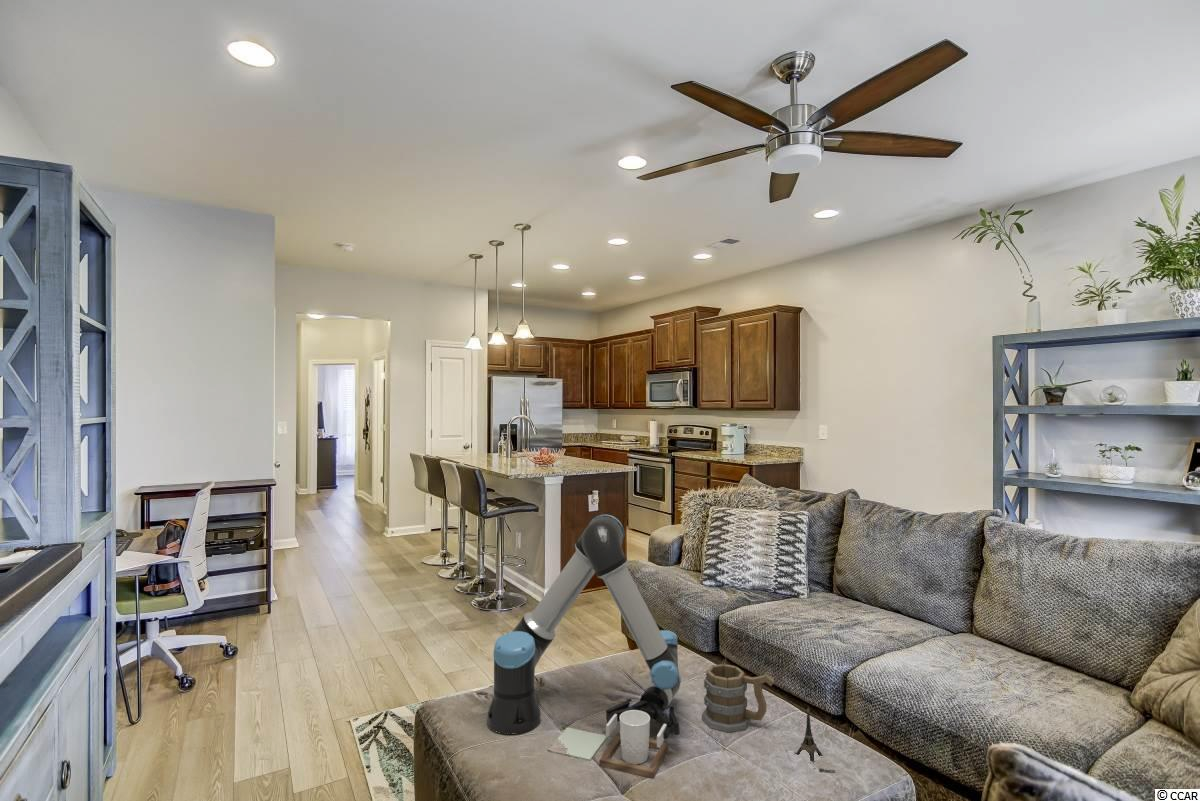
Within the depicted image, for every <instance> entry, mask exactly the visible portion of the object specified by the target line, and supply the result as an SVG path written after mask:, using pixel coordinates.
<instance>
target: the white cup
mask: <svg viewBox="0 0 1200 801" xmlns="http://www.w3.org/2000/svg"><path fill="white" fill-rule="evenodd" d="M619 718H620V722H619V732H620V739H621V744H620V747H621V748H620V749H621V759H622V760H623V762H627V763H632V764H636V765H642V764H643V763H645V762H647V761H648V759H649V749H650V748H649V739H650V735H651V734H650V732H651V731H650V730H651V729H650V728H651V719H650V716H649V715H648V714H647V713H645V712H643V711H639V710H629V711H625V712H623V713H622V714H621V715H620V717H619Z"/></svg>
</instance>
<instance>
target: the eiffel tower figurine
mask: <svg viewBox="0 0 1200 801" xmlns="http://www.w3.org/2000/svg"><path fill="white" fill-rule="evenodd" d="M810 711H811V709H810V708H809V707H807V709H806V725H805V726H806V729H805V734H804V738H803V741H802V742H801V743H800V747H798V748H799V749H797V751H796V752H795V753H796V754H797V755H799V754H800V752H801V751H802V750H806V751H807V752H808V753H809V755H810V761H811V762H813V763H814V762H815V761H814V752H817V753H818V755H819V756H823V757H824V754H823V753H822V751H820V749H819V747H818V746H817V743H815V740H814V737H813V734H812V725H811V716H810ZM811 762H810V763H811ZM813 763H812V764H813ZM815 763H816V762H815ZM815 763H814V764H815ZM816 769H817V768H816V767H814V769H813V770H816ZM818 771H819V773H836V770H833V769H824V768H821V767H820V768H818Z"/></svg>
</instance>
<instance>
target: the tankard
mask: <svg viewBox="0 0 1200 801" xmlns="http://www.w3.org/2000/svg"><path fill="white" fill-rule="evenodd" d="M705 672H706V673H705V676H706V677H705V678H704V679H703V687H704V688H705V689H706V692H705V695H704V697H703V704H704V706H706V707H705V709H704V710H703V711H702V713H701V719H702V721H703V722H704V723H705V724H706V725H707V726H708V727H709V728H711V729H712V730H715V731H720V732H725V733H734V732H739V731H745V730H746V728H747V727H748V726H749V724H750V721H762V719H763V718H764V717H765V715H766V713H767V701H766V699H765V696H764V692H763V685H762V684H764V683H765V684H767V685H768V686H770V687H772V685H773V684H774V683H775V679H774V678H772V677H771V676H770V675H768V674H763V675H759V676H754V677H753V676H752V677H751V676H748V675H745V672H744V670H742V669H740V668H739V667H738V666H735V665H731V664H727V663H726V664H725V663H724V664H723V663H721V664H720V663H719V664H712V665H710V666H709V667H708V668H707V669H706V671H705ZM748 684H750V685H753V692H754V697H755V699H756V702H757V706H758V710H757V711H752V710H749V709H747V707H748V698H747V697H746V691H747V690H748Z"/></svg>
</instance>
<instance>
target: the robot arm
mask: <svg viewBox="0 0 1200 801" xmlns="http://www.w3.org/2000/svg"><path fill="white" fill-rule="evenodd" d="M624 539H625V530H624V526H623V524H622V523H621V521H620V520H619V519H618V518H617V517H615V516H614V515H610V514H600V515H597V516H595V517H594V518H592V519H591V520H590V521H589V523H588V525H587V526H586V527H585V529H584V531H583V533H581V535H580V537H579V538H578V539H577V541H576V542H575V543H574V548H575V552H574V553H573V554H572V556H571V558H570V559H569V560H568V561H567V563H566V565H565V566H564V567H563V569H562V570H561V572H560V573H559V574H558V576H557V577H556V579H555V580H554V581H553V583H552V585H550V588H549V589H548V590H547V591H546V592H545V593H544V595H543V597H542V598H541V599H540V601H539V602H538V604H537V605H536V606H535V608H534V609H533V610H532V611H529V612H526V613H525V614H524V615H523V617H521V619H520V621H519V622H518V623H517V625H516V626H515V627H514V629H513V630H512V631H509V632H506V634H502V635H501V636H500V637H498V638H497V639H496V640H495V643H494V649H493V697H492V700H491V703H490V706H489V708H488V712H487V723H488V724H487V727H488V726H489V727H490V728H491V729H492V730H491V729H490V728H489V727H488V728H489V729H490V730H491V731H493V730H494V731H497V732H500V733H499V734H501V733H506V734H505V735H513V734H512V733H520V734H524V733H528V732H530V731H532V730H534V729H535V728H536V727H538V726H539V724H540V723H541V708H540V706H539V702H538V699H537V698H538V697H537V695H536V692H535V686H536V685H535V684H536V683H535V679H536V678H535V671H536V670H535V669H536V666H537V665H538V663H539V661H540V659H541V657H542V656H543V654H544V653H545V652H546V650H547V649H548V647H549V646H550V645H551V643H552V642H553V640H554V639H555V637H556V632H555V630H556V628H557V627H558V625H559V623H560V622H561V620H562V619H563V618H564V616H565V615H566V614H567V612H568V611H569V609H570V608H571V607H572V605H573V604H574V602H575V601H576V600H577V598H578V597H579V596H580V595H581V593H582V592H583V590H584V588H585V587H586V586H587V585H588V583H589V582H590V580H591V579H592V578H593V576H594V575H595V574H596V577H597V578H599V579H602V580H603V582H604V584H605V587H607V590H608V591H609V594H610V595H611V598H612V599H613V601H614V603H615V605H616V607H617V609H618V611H619V613H620V615H621V616H622V618H623V620H624V622H625V624H626V627H627V628H628V630H629V632H630V634H631V636H632V637H633V640H634V641H635V643H636V646H637V647H638V649H639V651H640V654H641V656H642V657H643V659H644V661H645V663H646V665H647V667H648V669H649V674H650V679H651V682H650V684H649V685H648V686H647V688H646V689H645V691H644V692H643V694H642V695H641V696H640V699H639V701H637V702H632V698H627V699H626V700H625V701H623V702H621V703H619V704H616V705H615V706H611V707H609V708H608V709H606V710H605V712H606V713H605V720H606V725H605V736H607V738H609V737H610V735H611V734H612V733H613V731H614V730H615V729H616V727H617V726H618V723H620V718H619V717H620V715H621V714H622V713H623V712H625V711H629V710H639V711H643V712H645V713H647V714H648V715H649V716H650V720H653V721H655V723H656V724H659V726H660V727H661V728H660V730H659V731H658V733H657V735H656V740H657V747H658V748H660V746H661V745H662V743H663V742H665V741H664V740H668V739H669V738H670V736H671V735H672V734H674V735H679V734H680V723H679V721H678V718H677V716H676V714H675V707H674V706H671V707H670V706H669V705H670V704H671V702H672V701H673V699H674V697H675V696H676V694H677V693H678V691H679V689H680V686H681V682H682V680H681V679H682V678H681V674H680V671H679V663H678V662H679V659H678V658H679V656H678V652H679V651H678V645H679V643H678V636H677V634H676V633H675V632H673V631H672V630H668V629H667V630H664V629H661V630H660V628H659V626H658V625H657V623H656V621H655V619H654V617H653V615H652V613H651V612H650V609H649V607H648V605H647V603H646V602H645V600H644V597H643V596H642V594H641V592H640V590H639V588H638V586H637V584H636V583H635V581H634V579H633V577H632V575H631V573H630V571H629V569H628V566H627V563H628V559H627V558H626V556H625V553H624V550H623V548H622V544H623V542H624ZM668 707H669V708H668ZM666 716H667V717H666ZM494 731H493V732H494ZM497 732H496V733H497ZM507 733H508V734H507Z"/></svg>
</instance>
